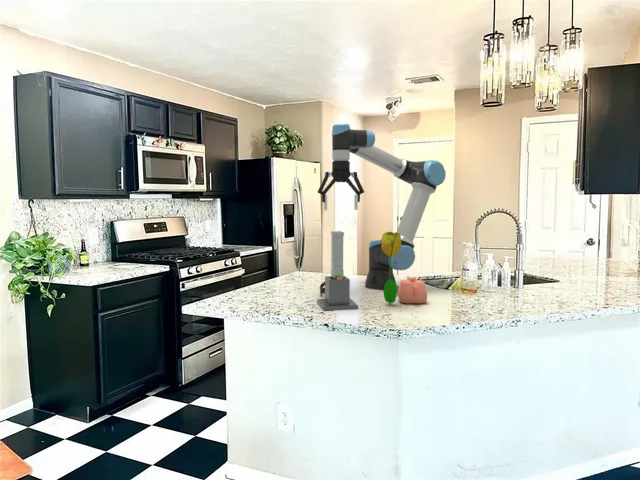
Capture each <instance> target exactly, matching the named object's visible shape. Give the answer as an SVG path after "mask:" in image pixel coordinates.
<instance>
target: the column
mask: <svg viewBox="0 0 640 480" xmlns="http://www.w3.org/2000/svg"><path fill="white" fill-rule="evenodd" d="M330 235H331V244H330V245H331V246H330V247H331V248H330V249H331V253H330V255H331V257H330V258H331V261H330V262H331V264H330V265H331V266H330V276H331V279H336V277H342V279H343V276H345V275H344V273H345V272H344V271H345V270H344V236H345V232H343V231H341V230H340V231H338V230H337V231H336V230H335V231H331V232H330Z"/></svg>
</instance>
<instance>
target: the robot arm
mask: <svg viewBox="0 0 640 480" xmlns="http://www.w3.org/2000/svg"><path fill="white" fill-rule="evenodd" d="M331 129H332V130H331V136H332V137H331V140H332V141H331V150H332V151H331V153H332V154H331V157H332V158H331V159H332V160H333V161H332V163H331V166H332V167H331V169H332V170H331V171H330V172H329V171H325V172H324V177H323V179H322V181H321V183H320V186H319V187H318V190H317V194H320V195H321V202H322V203H323V209H324V211H328V195H327V192H329V191H330V190H331V188H332V187H333V185H334V184H335V183H346V184H347V185H348V186H349V187H350V188H351V190H352V191H353V192H354V195H353V196H354V201H353V202H354V204H353V205H354V207H353V209H354V211H358V209H359V205H358V203H360V201H361V195H362V194H364V193H365V190H364V188H363V185H362V184H361V182H360V179H359V177H358V172H357V171H354V172H353V171H352V172H351V168H350V167H351V166H350V164H351V162H350V161H349V160H350V158H351V157H350V156H351V154H353V155H355V156H357V157H359V158H361V159H364V160H365V161H368V162H369V163H371V164H374V165H376V166H378V167H379V168H382V169H383V170H385V171H387V172H389V173H392V174H393V177H395V178H397V179H399V180H401V181H403V182H405V183H407V184H409V185H411V186H412V190H411V193H410V195H409V197H408V200H407V202H406V203H407V204H406V206H405V209H404V211H403V213H402V217H401V218H400V222H399V225H398V227H397V229H396V232H397V233H399V234H401V248H400V251H399V252H398V253H397V254H396V255H395V256H393V257H391V271H390V256H388V255H386V254H385V253H384V252H383V250H382V247H381V239H378V240H370V241H369V245H368V273H367V275H366V279H365V281H364V282H365V283H364V286H365V287H366V288H367V289H374V290H384V286H385V283H386V282H387V281H388V280H389V275H390V279H391V280H392V279H393V280H394V282H395V283H396V284H397V282H396V279H395V278H396V277H395V275H394V272H393V270H395V271H407V270H408V269H409V268H411V267H412V265H413V264H414V262H415V261H416V252H415V250H414V249H415V243H414V239H415V237H416V235H417V231H418V229H419V226H420V223H421V221H422V218H423V216H424V213H425V210H426V207H427V205H428V202H429V199H430V196H431V195H432V194H434V193H435V192H436V189H437V187H438V186H440V185H441V184H443V183H444V182H445V179H446V169H445V167H444V165H443V164H442V163H441V162H440V161H438V160H435V159H433V160H432V159H428V160H423V161H422V160H420V161H410V160H407V159H405V158H399V157H396V156H395V155H393V154H391V153H389V152H386V151H385V150H384V149H381V148H379V147H377V146H375V141H376V135H375V133H374V131H373V130H367V129H352V128H351V126H350V124H349V123H343V122H342V123H340V122H339V123H334V124H333V125H332V128H331ZM350 153H351V154H350ZM330 177H332V179H331V180H330V182H329V183H328V184H327V186H326V187H325V185H326V183H327V181H328V179H329V178H330ZM350 177H352V178H353V181H354V182H355V184H356V185H355V184H354V183H353V182H352V180H351V179H350Z"/></svg>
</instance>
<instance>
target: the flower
mask: <svg viewBox="0 0 640 480" xmlns="http://www.w3.org/2000/svg"><path fill="white" fill-rule="evenodd" d="M380 240H381V247H382V250H383V252H384V253H385V254H386V255H388V256H390V271H391V257H393V256H395V255H396V254H397V253H398V252H399V251H400V248H401V234H399V233H397V231H396V232H392V231H387V232H385V233H383V234H382V237H381V239H380ZM383 296H384V301H385V302H386V303H388V304H389V305H390V306H391V304H393V303H395V302H396V299H397V296H398V285H397V282H396V283H395V282H394V280H393V279H392V280H391V279H390V275H389V280H388V281H387V282H386V283H385V286H384V289H383Z"/></svg>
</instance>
